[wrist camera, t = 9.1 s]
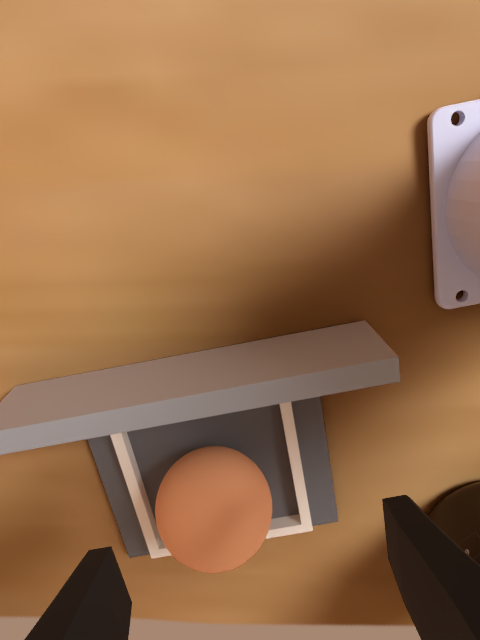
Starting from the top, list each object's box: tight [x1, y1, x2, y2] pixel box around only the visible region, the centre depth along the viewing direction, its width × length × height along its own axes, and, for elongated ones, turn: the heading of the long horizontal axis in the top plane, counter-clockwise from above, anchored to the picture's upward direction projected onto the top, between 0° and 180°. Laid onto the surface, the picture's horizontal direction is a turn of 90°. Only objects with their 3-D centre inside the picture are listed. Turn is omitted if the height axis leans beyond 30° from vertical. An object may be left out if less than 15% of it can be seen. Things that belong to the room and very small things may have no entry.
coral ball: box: [155, 446, 272, 573], centre depth 19 cm, size 5×5×5 cm
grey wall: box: [0, 320, 401, 455], centre depth 18 cm, size 16×1×4 cm, turn 101°
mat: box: [87, 396, 338, 559], centre depth 21 cm, size 11×9×1 cm
